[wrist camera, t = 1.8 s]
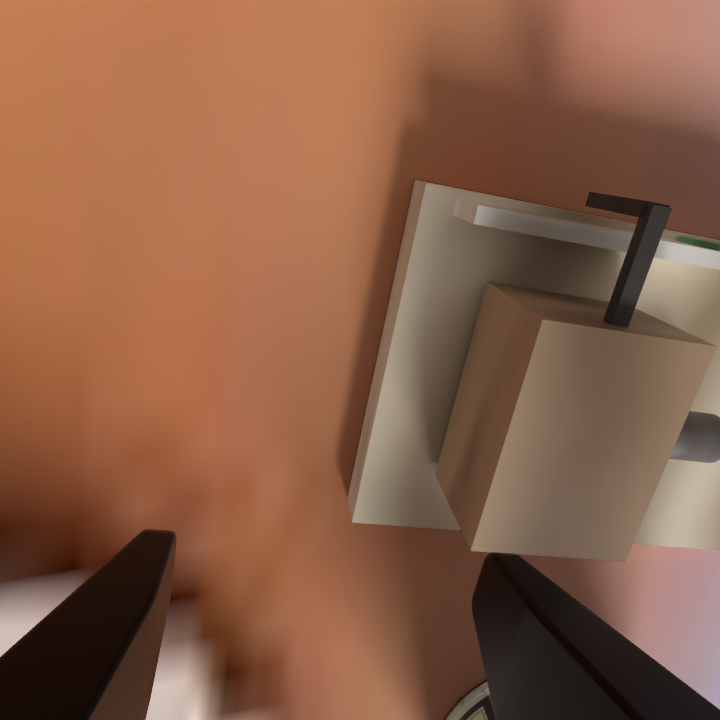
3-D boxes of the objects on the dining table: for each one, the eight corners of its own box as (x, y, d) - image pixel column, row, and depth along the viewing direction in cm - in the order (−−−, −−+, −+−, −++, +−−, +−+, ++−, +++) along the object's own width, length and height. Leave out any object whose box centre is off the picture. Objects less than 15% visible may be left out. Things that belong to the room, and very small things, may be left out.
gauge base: (952, 286, 22) (1131, 324, 17) (812, 536, 26) (927, 622, 21) (414, 179, 18) (462, 192, 13) (347, 498, 22) (365, 594, 17)
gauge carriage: (746, 224, 18) (868, 246, 14) (634, 493, 21) (709, 567, 18) (515, 177, 16) (584, 187, 13) (434, 474, 20) (470, 550, 16)
